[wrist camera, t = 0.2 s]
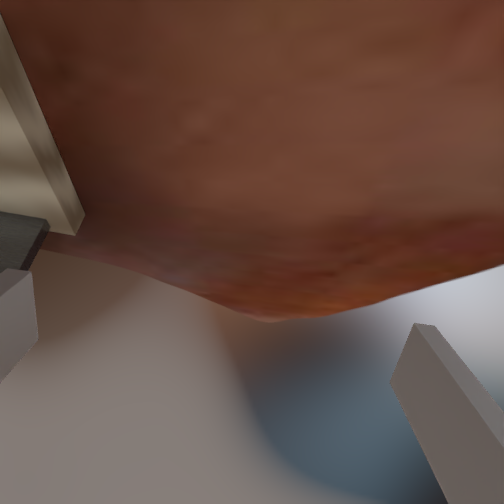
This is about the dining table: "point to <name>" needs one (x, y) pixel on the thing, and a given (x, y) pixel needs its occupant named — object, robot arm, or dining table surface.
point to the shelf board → (31, 152)
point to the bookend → (20, 240)
